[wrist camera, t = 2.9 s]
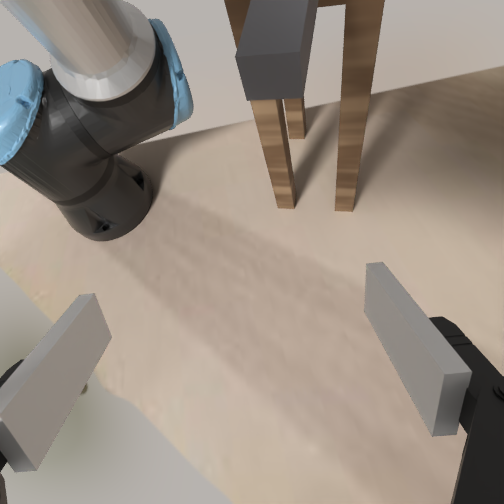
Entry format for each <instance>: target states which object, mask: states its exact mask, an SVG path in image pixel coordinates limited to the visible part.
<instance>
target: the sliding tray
mask: <svg viewBox="0 0 504 504" xmlns="http://www.w3.org/2000/svg"><path fill="white" fill-rule="evenodd" d="M317 6H318V0H251V1H250V5H249V8H248V12H247V16H246V19H245V23H244V27H243V30H242V34H241V37H240V41H239V45H238V48H237V52H236V56H235V58H236V62H237V66H238V69H239V73H240V76H241V80H242V84H243V88H244V91H245V95H246V99H247V101H249V100H274V99H298V98H303V96H304V90H305V83H306V76H307V70H308V64H309V57H310V50H311V44H312V38H313V32H314V25H315V19H316V12H317Z"/></svg>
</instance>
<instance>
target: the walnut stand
mask: <svg viewBox="0 0 504 504" xmlns="http://www.w3.org/2000/svg"><path fill="white" fill-rule="evenodd" d="M224 1H225V5H226V9H227V13H228V17H229V21H230V25H231V29H232V32H233V36H234V40H235V44H236V48H238V45H239V41H240V37H241V34H242V30H243V27H244V23H245V19H246V16H247V12H248V8H249V5H250V1H251V0H224ZM384 2H385V0H318V6H317V7H325V6H333V5H342V4H346V9H345V29H344V47H343V67H342V85H341V104H340V123H339V142H338V161H337V180H336V199H335V211H350V212H353V206H354V199H355V193H356V186H357V179H358V173H359V166H360V160H361V153H362V146H363V140H364V133H365V127H366V120H367V114H368V107H369V100H370V94H371V87H372V81H373V73H374V67H375V61H376V54H377V48H378V41H379V34H380V28H381V21H382V15H383V8H384ZM250 102H251V105H252V109H253V113H254V117H255V121H256V125H257V129H258V133H259V137H260V140H261V144H262V148H263V152H264V156H265V160H266V164H267V167H268V171H269V175H270V179H271V183H272V187H273V191H274V194H275V198H276V202H277V206H278V208H286V209H294V207H295V200H296V190H295V183H294V176H293V170H292V163H291V156H290V149H289V143H288V136H287V129H286V122H285V116H284V109H283V103H282V99H274V100H250ZM284 103H285V110H286V117H287V125H288V132H289V139H304V138H305V131H306V119H305V107H304V96H303V98H298V99H284Z"/></svg>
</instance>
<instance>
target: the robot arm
mask: <svg viewBox="0 0 504 504" xmlns="http://www.w3.org/2000/svg"><path fill="white" fill-rule="evenodd" d="M0 2H1V3H2V4H3V6H5V8H7V10H8V11H9V12H10V13H11V14H12V15H13V16H14V17H15V18H16V19H17V20H18V21H19V22H20V23H21V24H22V25H23V26H24V27H25V28H26V29H27V30H28V31H29V32H30V33H31V34H32V35H33V36H34V37H35V38H36V39H37V40H38V41H39V42H40V43H41V44H42V45H43V46H44V47H45V49H47V50H48V52H49V53H50V63H51V67H52V68H51V69H49V70H47V71H45V72H42V71H41V70H40V68H39V67H38V66H37V65H34V64H33V63H32V62H30V61H28V60H24V59H22V60H13V61H10V62H8V63H6V64H4V65H2V66H0V166H2V167H3V168H4V169H6V170H7V171H9V172H10V173H12V174H13V175H15V176H16V177H17V178H19V179H20V180H22V181H23V182H25V183H26V184H28V185H29V186H31V187H32V188H34V189H35V190H37V191H38V192H39V193H41V194H42V195H44V196H45V197H47V198H48V199H50V200H51V201H53V202H54V203H55V204H56V205H57V206H58V208H59V209H60V211H61V212H62V214H63V215H64V217H65V218H66V219H67V221H68V222H69V224H70V225H71V226H72V228H73V229H74V230H76V231H77V232H78V233H80V234H81V235H83V236H85V237H86V238H88V239H91V240H94V241H109V240H113V239H116V238H119V237H121V236H123V235H125V234H126V233H128V232H129V231H131V230H132V229H133V228H135V227H136V226H137V225H138V224H139V223H140V222H141V220H142V219H143V218H144V216H145V215H146V213H147V211H148V209H149V207H150V204H151V201H152V194H153V191H152V185H151V182H150V180H149V178H148V177H147V176H146V174H145V173H144V172H143V171H142V170H141V169H140V168H139V167H138V166H137V165H136V164H134V163H132V162H130V161H128V160H127V159H125V158H123V157H121V156H119V155H118V153H120V152H122V151H124V150H126V149H128V148H130V147H132V146H134V145H137V144H139V143H141V142H143V141H145V140H147V139H150V138H152V137H154V136H156V135H159V134H160V133H163V132H165V131H167V130H172V129H174V128H175V127H176V125H178V124H180V123H182V122H183V121H186V120H187V119H189V118H190V116H191V115H192V113H193V100H192V95H191V92H190V88H189V85H188V82H187V79H186V77H185V74H184V73H183V68H182V65H181V62H180V59H179V56H178V54H177V51H176V49H175V46H174V44H173V42H172V39H171V37H170V35H169V33H168V31H167V29H166V27H165V26H164V24H163V22H162V21H160V20H159V19H152V20H151V19H147V18H146V17H145V15H144V14H143V13H142V12H141V11H140V10H139V9H137V8H136V7H135V6H134V5H132V4H130V3H128V2H125V1H123V0H0ZM364 312H365V314H366V316H367V317H368V319H369V321H370V323H371V325H372V327H373V328H374V330H375V332H376V334H377V336H378V338H379V340H380V341H381V343H382V345H383V347H384V349H385V351H386V352H387V354H388V356H389V358H390V360H391V362H392V364H393V365H394V367H395V369H396V371H397V373H398V375H399V376H400V378H401V380H402V382H403V384H404V386H405V388H406V389H407V391H408V393H409V395H410V397H411V399H412V401H413V402H414V404H415V406H416V408H417V410H418V412H419V413H420V415H421V417H422V419H423V421H424V423H425V425H426V426H427V428H428V430H429V432H430V434H431V436H432V437H434V436H446V435H456V434H457V430H458V426H459V422H460V424H461V425H462V427H463V428H464V430H465V431H466V433H467V434H468V435H467V439H466V442H465V446H464V450H463V453H462V459H461V463H460V468H459V472H458V476H457V480H456V484H455V488H454V492H453V497H452V501H451V504H504V376H502V375H501V374H500V373H499V372H498V370H497V369H496V368H495V367H494V366H493V365H492V364H491V363H490V362H489V361H488V359H487V358H486V357H485V356H484V355H483V354H482V353H481V352H480V351H479V350H478V349H477V347H476V346H475V345H473V344H472V342H471V341H470V340H469V339H468V338H467V336H466V337H465V334H464V333H463V332H462V331H461V330H460V329H459V328H458V327H457V325H456V324H454V323H452V322H451V321H449V320H447V319H446V318H444V317H432V318H428V317H427V316H426V314H425V313H424V312H423V311H422V309H421V308H420V307H419V306H418V305H417V303H416V302H415V301H414V300H413V298H412V297H411V296H410V295H409V294H408V292H407V291H406V290H405V289H404V287H403V286H402V285H401V284H400V283H399V281H398V280H397V279H396V278H395V276H394V275H393V274H392V273H391V271H390V270H389V269H388V268H387V267H386V265H385V264H384V263H383V262H379V263H369V264H366V283H365V306H364ZM111 338H112V336H111V333H110V331H109V328H108V326H107V323H106V321H105V318H104V316H103V313H102V311H101V308H100V306H99V303H98V301H97V298H96V296H95V293H93V294H84V295H79V296H78V297H77V298H76V300H75V301H74V302H73V303H72V304H71V305H70V307H69V308H68V309H67V310H66V311H65V312H64V314H63V315H62V316H61V317H60V318H59V320H58V321H57V322H56V323H55V324H54V325H53V327H52V328H51V329H50V330H49V331H48V332H47V334H46V335H45V336H44V337H43V339H42V340H41V341H40V342H39V343H38V344H37V345H36V347H35V348H34V349H33V350H32V351H31V353H30V354H29V355H28V356H27V357H26V358H25V359H24V360H20V361H19V362H17V363H16V364H15V365H13V366H12V367H11V368H9V369H8V370H7V371H6V372H5V374H4V375H3V376H2V377H1V378H0V472H1V470H2V469H3V467H4V466H5V464H6V463H7V462H8V463H9V465H10V466H11V467H12V469H13V470H14V471H15V472H25V471H36V470H37V469H38V468H39V466H40V464H41V462H42V460H43V459H44V457H45V455H46V454H47V452H48V450H49V448H50V446H51V445H52V443H53V441H54V439H55V438H56V436H57V434H58V432H59V430H60V429H61V427H62V425H63V423H64V422H65V420H66V418H67V416H68V415H69V413H70V411H71V409H72V407H73V406H74V404H75V402H76V400H77V398H78V397H79V395H80V393H81V392H82V390H83V388H84V386H85V384H86V383H87V381H88V379H89V377H90V375H91V374H92V372H93V370H94V368H95V367H96V365H97V363H98V361H99V360H100V358H101V356H102V354H103V353H104V351H105V349H106V347H107V345H108V344H109V342H110V340H111ZM0 504H7V496H6V489H5V481H4V478H3V476H2V474H1V473H0Z"/></svg>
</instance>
